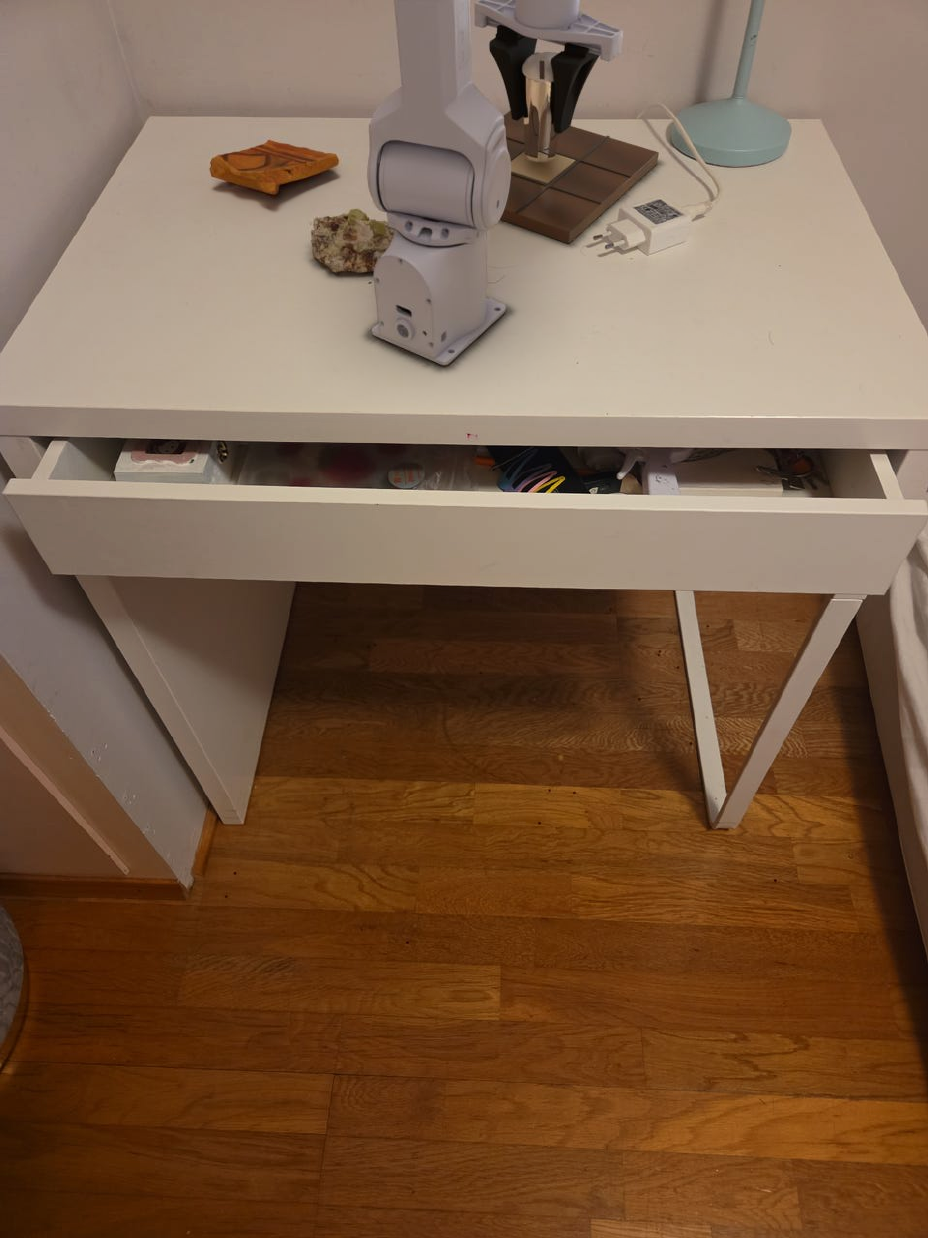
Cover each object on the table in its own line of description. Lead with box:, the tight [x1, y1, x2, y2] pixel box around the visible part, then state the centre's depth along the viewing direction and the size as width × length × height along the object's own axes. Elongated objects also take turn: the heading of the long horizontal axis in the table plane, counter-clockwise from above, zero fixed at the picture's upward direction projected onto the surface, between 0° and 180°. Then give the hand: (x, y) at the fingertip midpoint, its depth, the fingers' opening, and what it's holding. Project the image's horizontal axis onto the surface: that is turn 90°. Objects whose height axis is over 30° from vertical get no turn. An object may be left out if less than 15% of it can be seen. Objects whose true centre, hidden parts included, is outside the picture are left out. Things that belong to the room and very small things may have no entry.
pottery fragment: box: [208, 139, 340, 196], centre depth 90 cm, size 10×5×10 cm
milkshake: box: [522, 51, 560, 162], centre depth 85 cm, size 5×5×10 cm
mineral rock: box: [310, 208, 395, 274], centre depth 82 cm, size 11×4×8 cm
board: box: [500, 110, 660, 244], centre depth 91 cm, size 18×18×1 cm
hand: (541, 122), depth 87 cm, fingers closed on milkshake, 4 cm apart
